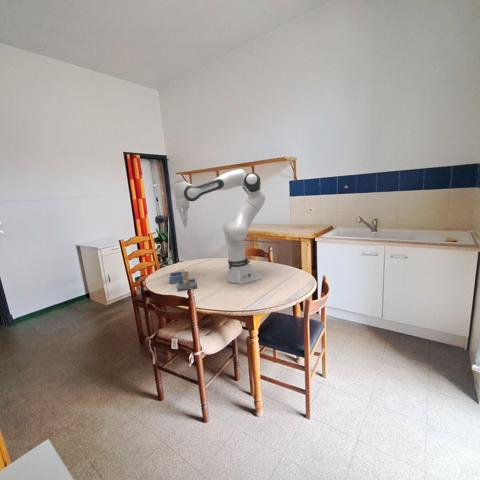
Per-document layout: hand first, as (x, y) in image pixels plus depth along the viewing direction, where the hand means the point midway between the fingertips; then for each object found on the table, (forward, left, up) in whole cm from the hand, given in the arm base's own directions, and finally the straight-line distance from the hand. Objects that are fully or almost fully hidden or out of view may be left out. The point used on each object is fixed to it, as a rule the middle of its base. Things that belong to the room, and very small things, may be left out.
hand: (185, 225), depth 180 cm
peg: (+4, +18, -36) cm, 40 cm away
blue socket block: (+10, +4, -37) cm, 39 cm away
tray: (+4, +18, -37) cm, 41 cm away
